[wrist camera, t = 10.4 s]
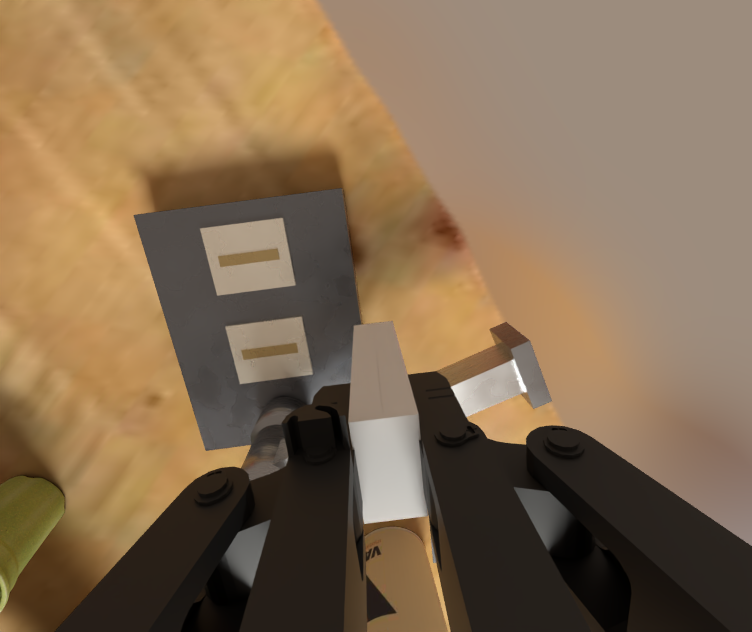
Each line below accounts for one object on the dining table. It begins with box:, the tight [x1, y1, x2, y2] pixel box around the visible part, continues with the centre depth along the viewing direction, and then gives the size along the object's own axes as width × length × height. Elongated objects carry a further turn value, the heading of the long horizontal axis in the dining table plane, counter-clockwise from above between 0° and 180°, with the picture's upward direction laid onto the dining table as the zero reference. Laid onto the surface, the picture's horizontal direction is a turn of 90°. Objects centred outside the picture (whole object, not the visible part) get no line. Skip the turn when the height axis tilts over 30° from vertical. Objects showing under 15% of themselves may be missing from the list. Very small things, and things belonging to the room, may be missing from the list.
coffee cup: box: [364, 527, 448, 632], centre depth 34 cm, size 9×9×12 cm
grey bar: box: [241, 322, 552, 481], centre depth 24 cm, size 21×4×6 cm, turn 115°
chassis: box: [134, 188, 363, 451], centre depth 29 cm, size 15×20×6 cm
